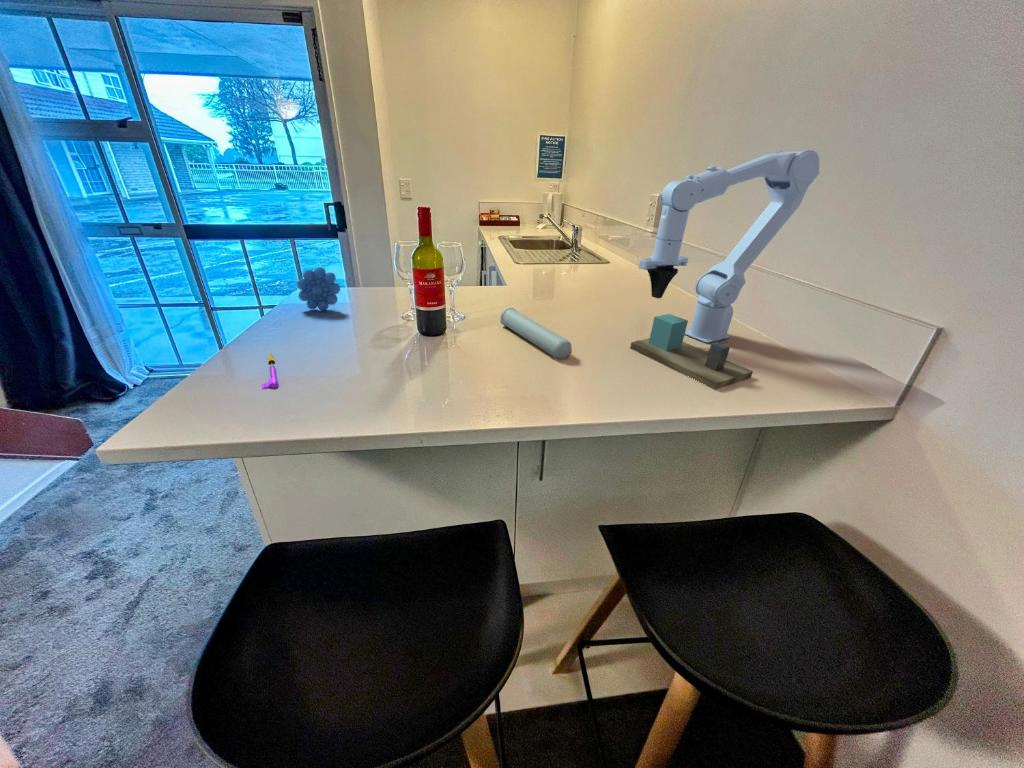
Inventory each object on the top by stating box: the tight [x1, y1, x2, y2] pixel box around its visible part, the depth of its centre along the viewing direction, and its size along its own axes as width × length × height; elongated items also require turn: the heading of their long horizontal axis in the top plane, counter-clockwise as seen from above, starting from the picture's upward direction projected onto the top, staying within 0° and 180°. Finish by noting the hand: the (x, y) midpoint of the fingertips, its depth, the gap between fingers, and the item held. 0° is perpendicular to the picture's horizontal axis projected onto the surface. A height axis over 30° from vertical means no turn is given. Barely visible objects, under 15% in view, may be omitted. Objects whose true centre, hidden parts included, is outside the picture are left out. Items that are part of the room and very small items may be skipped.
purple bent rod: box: [261, 353, 279, 390], centre depth 78 cm, size 3×1×16 cm
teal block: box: [648, 313, 689, 351], centre depth 93 cm, size 5×5×7 cm
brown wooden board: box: [629, 337, 754, 391], centre depth 90 cm, size 12×23×2 cm, turn 30°
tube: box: [500, 307, 573, 360], centre depth 96 cm, size 5×5×25 cm
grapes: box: [296, 266, 341, 312], centre depth 109 cm, size 12×7×12 cm, turn 90°
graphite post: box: [705, 341, 731, 371], centre depth 83 cm, size 3×3×5 cm
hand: (656, 297), depth 98 cm, fingers closed
